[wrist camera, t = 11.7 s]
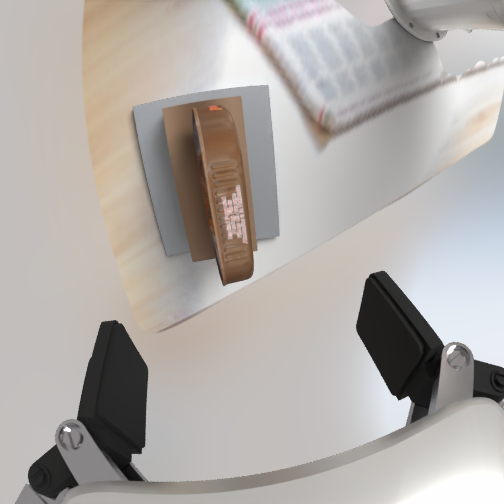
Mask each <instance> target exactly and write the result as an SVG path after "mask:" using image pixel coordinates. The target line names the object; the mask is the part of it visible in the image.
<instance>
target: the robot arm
mask: <svg viewBox="0 0 504 504" xmlns="http://www.w3.org/2000/svg"><path fill="white" fill-rule="evenodd" d="M385 2H386V4H387V6H388V8H389V10H390V11H391V13H392V15H393V16H394V17H395V19H396V20H397V21H398V22H399V23H400V24H401V26H402V27H403V28H404V29H406V30H407V31H408V32H409V33H410V34H412V35H414V36H415V37H417V38H419V39H421V40H424V41H438V40H441V39H442V38H443V37H444V36H445V35H446V33H447V31H448V30H464V31H466V32H468V33H470V32H471V31H472V30H498V31H504V0H385ZM356 329H357V333H358V335H359V336H360V338H361V340H362V342H363V343H364V345H365V347H366V348H367V350H368V352H369V354H370V356H371V357H372V359H373V361H374V363H375V364H376V366H377V368H378V370H379V372H380V373H381V376H382V377H383V379H384V381H385V383H386V385H387V387H388V389H389V390H390V392H391V394H392V395H394V396H396V397H397V399H398V400H401V399H403V398H405V397H407V396H409V397H410V399H411V401H412V403H411V407H410V411H409V415H408V419H407V422H406V426H405V427H403V428H401V429H399V430H397V431H395V432H392V433H390V434H388V435H386V436H384V437H381V438H379V439H376V440H374V441H372V442H369V443H367V444H364V445H362V446H359V447H356V448H353V449H351V450H348V451H345V452H342V453H339V454H336V455H333V456H330V457H327V458H324V459H320V460H317V461H313V462H310V463H306V464H302V465H298V466H295V467H291V468H286V469H281V470H277V471H272V472H267V473H261V474H256V475H249V476H242V477H236V478H227V479H217V480H205V481H186V482H149V481H148V480H147V479H146V478H145V477H144V476H143V475H142V473H141V472H140V471H139V470H138V469H137V468H136V467H135V465H134V464H133V463H132V462H131V458H132V456H131V455H132V454H141V453H142V448H144V447H145V429H146V401H147V384H148V383H147V382H148V368H147V365H146V363H145V362H144V360H143V359H142V357H141V355H140V354H139V352H138V350H137V349H136V347H135V345H134V344H133V342H132V340H131V339H130V337H129V335H128V333H127V332H126V330H125V328H124V326H123V325H122V324H119V323H118V321H116V320H113V321H105V322H102V323H101V325H100V328H99V332H98V335H97V339H96V343H95V346H94V350H93V354H92V357H91V358H90V360H89V363H88V367H87V372H86V376H85V380H84V385H83V390H82V394H81V400H80V405H79V411H78V417H77V420H75V419H70V420H66V421H64V422H62V423H61V424H60V425H59V427H58V429H57V430H56V434H55V440H56V445H55V446H54V447H52V448H51V449H50V450H49V451H48V452H47V453H45V454H44V455H43V456H42V457H40V458H39V459H38V460H37V461H36V462H35V463H33V464H32V466H31V467H30V469H29V472H28V479H29V483H30V484H29V485H28V484H26V485H25V486H24V488H23V490H22V492H21V494H20V495H19V497H18V499H17V501H16V503H15V504H504V368H502V367H499V366H496V365H492V364H488V363H485V362H481V361H477V360H474V358H473V354H472V352H471V350H470V349H469V348H468V347H467V346H465V345H464V344H462V343H459V342H452V343H449V344H447V345H446V346H444V345H443V343H442V341H441V340H440V338H439V337H438V336H437V334H436V333H435V332H434V330H433V329H432V328H431V327H430V325H429V324H428V323H427V321H426V320H425V319H424V317H423V316H422V315H421V314H420V312H419V311H418V310H417V309H416V307H415V306H414V305H413V304H412V302H411V301H410V300H409V299H408V298H407V296H406V295H405V294H404V293H403V292H402V290H401V289H400V288H399V287H398V286H397V284H396V283H395V282H394V281H393V280H392V279H391V278H390V276H389V275H388V274H387V273H386V272H385V271H380V272H376V273H372V274H370V275H369V278H367V279H366V282H365V287H364V292H363V297H362V302H361V307H360V311H359V316H358V320H357V324H356Z"/></svg>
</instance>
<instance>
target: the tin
mask: <svg viewBox="0 0 504 504" xmlns="http://www.w3.org/2000/svg"><path fill="white" fill-rule="evenodd" d="M192 127H193V134H194V141H195V148H196V155H197V161H198V168H199V174H200V180H201V186H202V192H203V198H204V204H205V210H206V215H207V221H208V226H209V230H210V236H211V240H212V245H213V249H214V254H215V257H216V262H217V265H218V269H219V273H220V277H221V280H222V284H223V286H225V285H227V284H230V283H235V282H239V281H243V280H246V279H249V278H251V276H252V275H253V270H254V260H253V249H252V239H251V229H250V219H249V210H248V201H247V193H246V184H245V176H244V168H243V160H242V154H241V148H240V142H239V138H238V133H237V130H236V126H235V123H234V120H233V117H232V115H231V113H230V112H229V110H228V109H226V108H225V107H224V106H222V105H215V106H209V107H203V108H192Z"/></svg>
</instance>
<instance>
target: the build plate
mask: <svg viewBox="0 0 504 504" xmlns="http://www.w3.org/2000/svg"><path fill="white" fill-rule="evenodd" d="M236 96H241V98H242V107H243V117H244V126H245V135H246V144H247V154H248V163H249V173H250V182H251V192H252V202H253V211H254V221H255V231H256V240H260V239H266V238H271V237H277V236H280V235H279V217H278V201H277V186H276V171H275V158H274V145H273V133H272V121H271V110H270V99H269V88H268V85H260V86H248V87H237V88H228V89H220V90H212V91H206V92H199V93H193V94H187V95H182V96H177V97H172V98H167V99H162V100H158V101H154V102H149V103H145V104H141V105H137V106H134V107H133V111H134V117H135V123H136V129H137V134H138V139H139V145H140V150H141V155H142V159H143V164H144V169H145V173H146V178H147V182H148V187H149V191H150V195H151V199H152V203H153V207H154V211H155V215H156V219H157V223H158V226H159V230H160V234H161V237H162V241H163V244H164V248H165V251H166V255H167V256H171V255H176V254H182V253H187V252H190V248H189V243H188V239H187V235H186V231H185V226H184V222H183V217H182V213H181V208H180V204H179V199H178V194H177V189H176V185H175V180H174V174H173V169H172V164H171V159H170V153H169V148H168V142H167V136H166V130H165V124H164V118H163V112H162V108H167V107H172V106H177V105H182V104H187V103H193V102H199V101H205V100H212V99H219V98H227V97H236Z"/></svg>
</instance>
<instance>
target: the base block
mask: <svg viewBox="0 0 504 504" xmlns="http://www.w3.org/2000/svg"><path fill="white" fill-rule="evenodd" d="M215 105H222V106H224V107H225V108H226V109H228V110H229V112H230V113H231V115H232V117H233V120H234V123H235V126H236V130H237V133H238V138H239V142H240V148H241V154H242V160H243V168H244V176H245V184H246V193H247V201H248V210H249V219H250V229H251V239H252V249H253V251H257V241H256V231H255V221H254V211H253V202H252V192H251V182H250V173H249V163H248V154H247V144H246V135H245V126H244V117H243V107H242V98H241V96H236V97H227V98H219V99H212V100H205V101H199V102H193V103H187V104H182V105H177V106H172V107H167V108H162V112H163V118H164V124H165V130H166V136H167V142H168V148H169V153H170V159H171V164H172V169H173V174H174V180H175V185H176V189H177V194H178V199H179V204H180V208H181V213H182V217H183V222H184V226H185V231H186V235H187V239H188V243H189V248H190V252H191V256H192V260H193V262H197V261H202V260H208V259H213V258H216V257H215V254H214V249H213V245H212V240H211V236H210V230H209V226H208V221H207V215H206V210H205V204H204V198H203V192H202V186H201V180H200V174H199V168H198V161H197V155H196V148H195V141H194V134H193V127H192V108H203V107H209V106H215Z"/></svg>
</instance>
